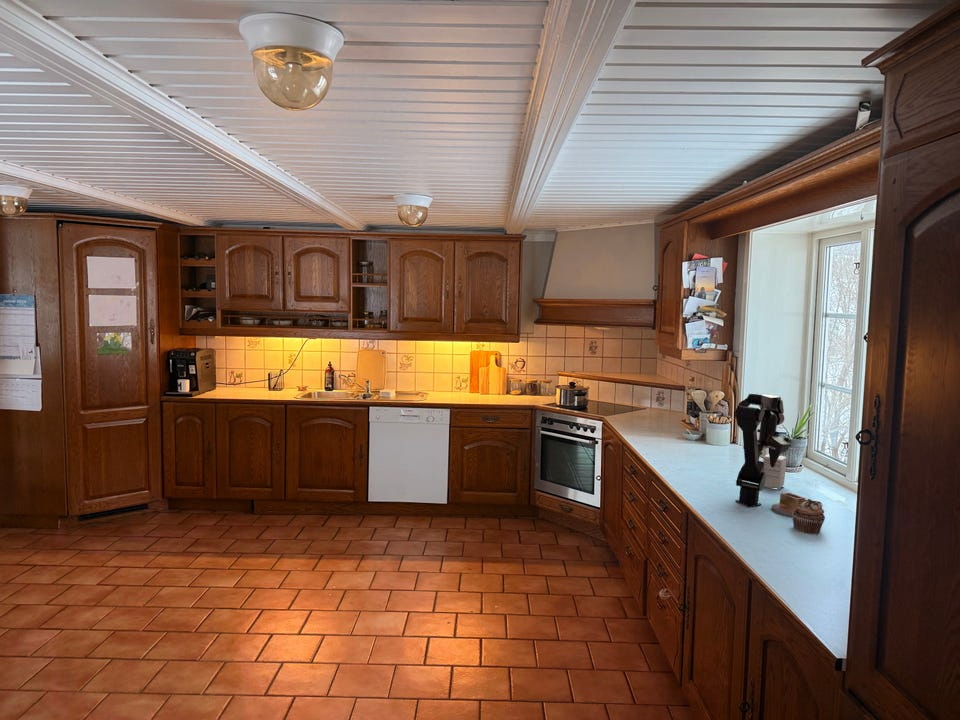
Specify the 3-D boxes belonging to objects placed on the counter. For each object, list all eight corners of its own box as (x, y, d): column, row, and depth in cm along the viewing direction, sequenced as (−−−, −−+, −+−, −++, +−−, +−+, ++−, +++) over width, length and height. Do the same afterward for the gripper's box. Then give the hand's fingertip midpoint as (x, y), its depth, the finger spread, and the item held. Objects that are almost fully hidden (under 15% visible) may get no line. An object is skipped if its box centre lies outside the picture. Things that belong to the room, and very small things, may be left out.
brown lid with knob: (794, 519, 227) (796, 507, 226) (763, 508, 238) (764, 495, 238) (819, 516, 232) (820, 503, 232) (787, 504, 244) (789, 492, 244)
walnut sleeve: (779, 506, 237) (780, 493, 237) (787, 505, 239) (788, 492, 239) (795, 513, 231) (797, 499, 231) (804, 511, 233) (805, 498, 233)
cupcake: (794, 522, 224) (797, 494, 223) (826, 530, 217) (829, 501, 216) (787, 529, 216) (790, 499, 215) (819, 537, 210) (822, 507, 209)
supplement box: (765, 483, 273) (768, 453, 272) (784, 487, 269) (787, 456, 268) (759, 486, 268) (763, 455, 267) (779, 490, 263) (782, 459, 262)
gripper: (769, 433, 240) (764, 475, 241) (803, 431, 248) (798, 471, 250) (744, 427, 250) (740, 467, 251) (778, 425, 258) (773, 464, 260)
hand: (763, 467), depth 253 cm, fingers open, 9 cm apart
